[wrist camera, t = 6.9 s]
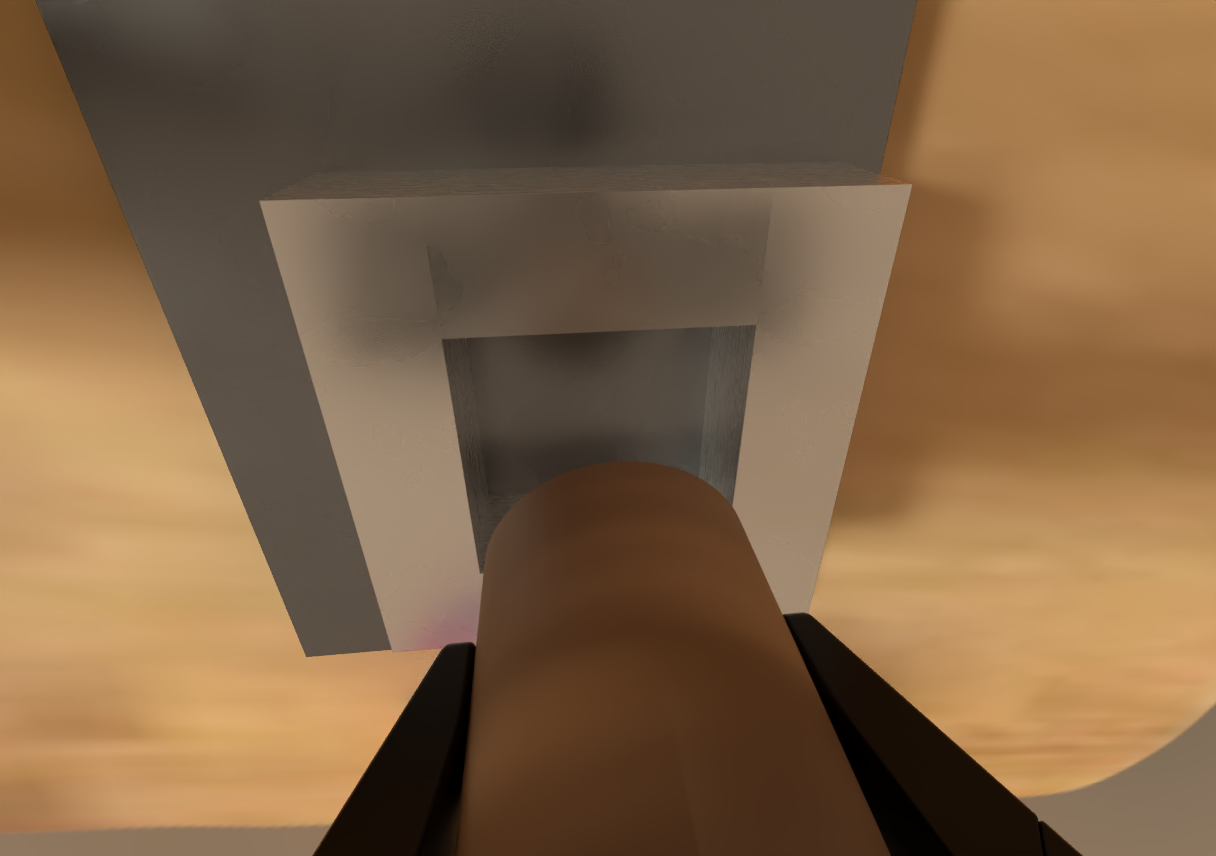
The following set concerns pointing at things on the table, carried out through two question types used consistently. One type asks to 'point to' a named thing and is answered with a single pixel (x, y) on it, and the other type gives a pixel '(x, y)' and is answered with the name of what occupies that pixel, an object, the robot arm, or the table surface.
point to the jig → (501, 263)
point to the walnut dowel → (644, 686)
